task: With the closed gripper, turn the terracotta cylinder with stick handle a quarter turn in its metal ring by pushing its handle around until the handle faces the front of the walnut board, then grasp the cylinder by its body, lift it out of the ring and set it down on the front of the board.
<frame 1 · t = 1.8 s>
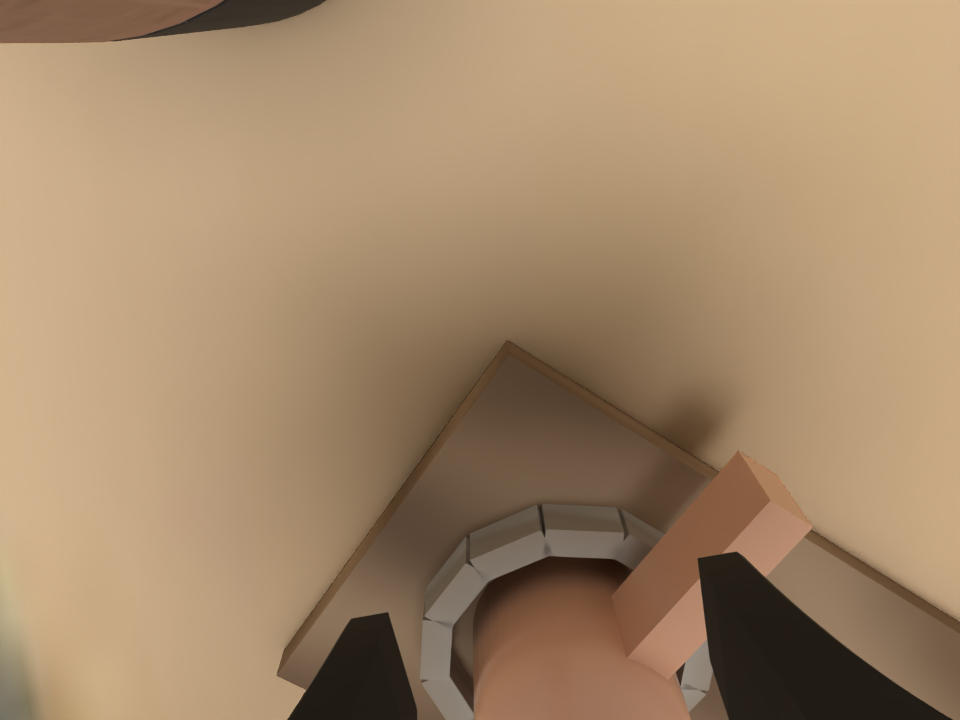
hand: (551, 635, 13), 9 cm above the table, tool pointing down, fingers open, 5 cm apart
cylinder with stick handle: (564, 626, 23), point 1 cm above the table, touching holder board
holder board: (691, 675, 25), on the table
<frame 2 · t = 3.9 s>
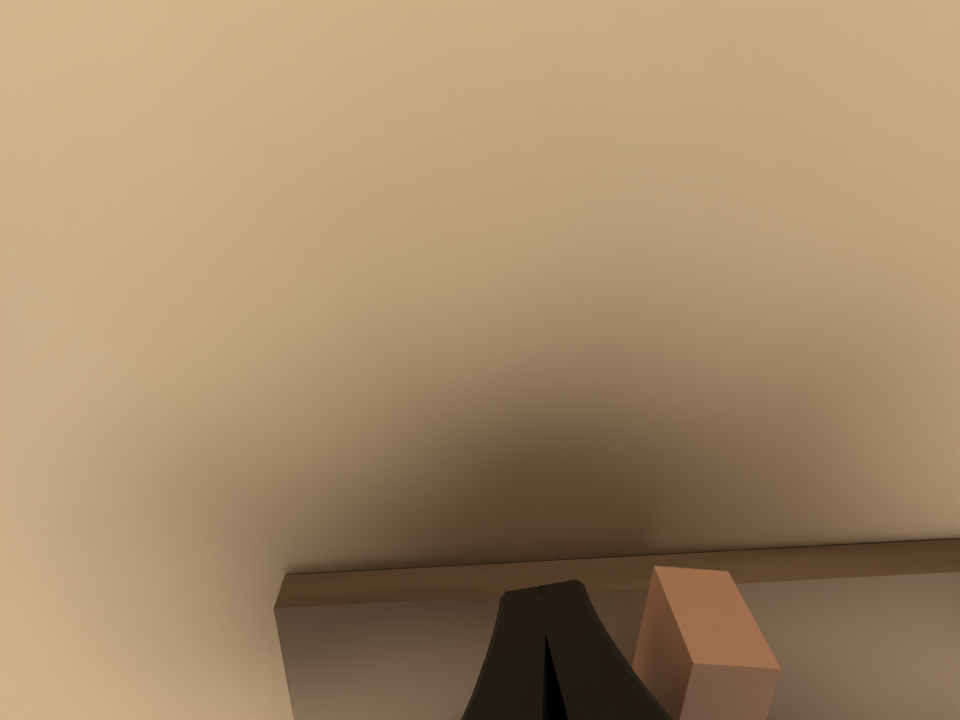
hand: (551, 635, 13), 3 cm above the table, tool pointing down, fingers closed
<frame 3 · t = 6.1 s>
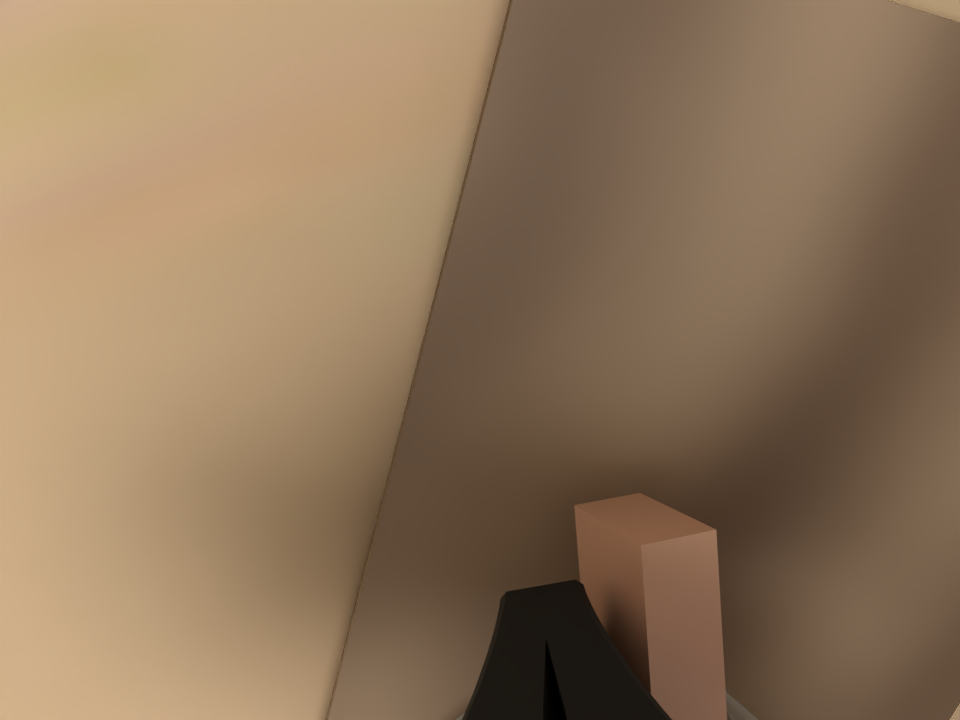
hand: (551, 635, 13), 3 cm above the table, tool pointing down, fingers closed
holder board: (667, 596, 16), on the table
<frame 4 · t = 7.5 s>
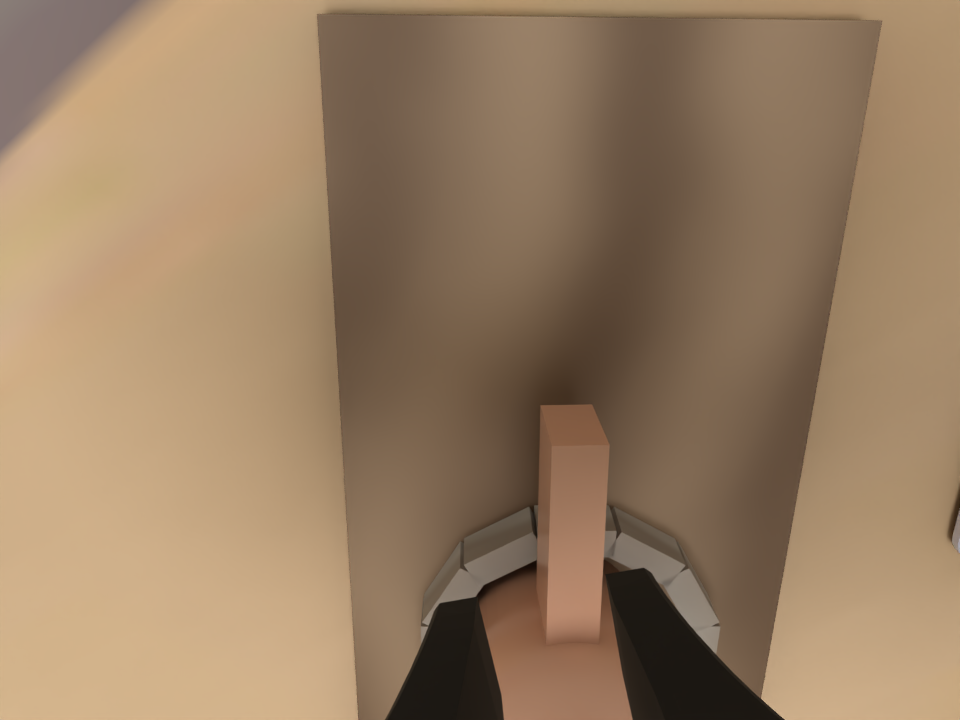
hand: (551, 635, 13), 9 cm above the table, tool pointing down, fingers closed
cylinder with stick handle: (549, 626, 23), point 1 cm above the table, touching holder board
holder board: (569, 454, 22), on the table
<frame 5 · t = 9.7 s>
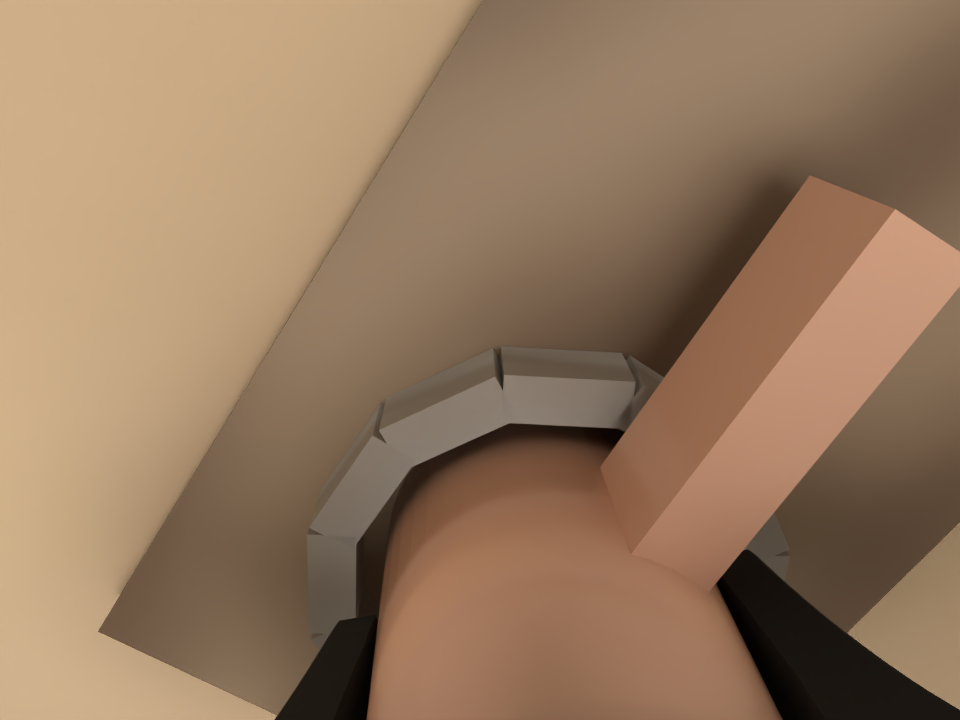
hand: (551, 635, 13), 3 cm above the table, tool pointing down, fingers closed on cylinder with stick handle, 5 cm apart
cylinder with stick handle: (533, 539, 15), point 1 cm above the table, touching gripper, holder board
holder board: (699, 319, 14), on the table
when the fingers open (4 cm above the table, at t = 14.1 s): cylinder with stick handle stays where it is, resting on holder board.
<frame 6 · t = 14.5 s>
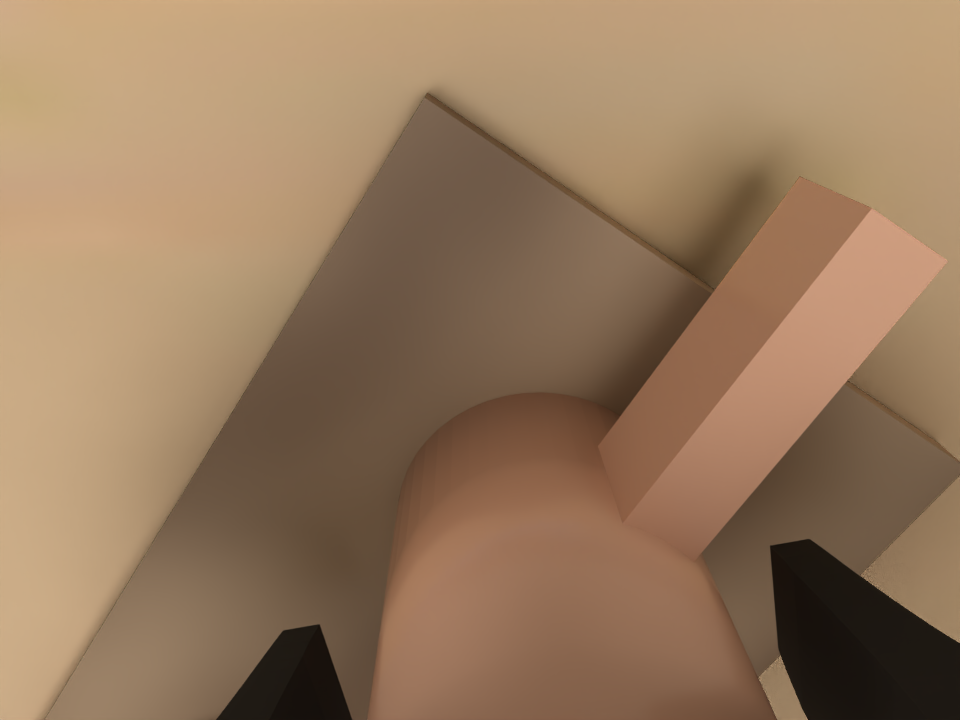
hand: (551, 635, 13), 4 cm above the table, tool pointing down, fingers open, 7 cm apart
cylinder with stick handle: (534, 516, 16), point 1 cm above the table, touching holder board
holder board: (391, 678, 18), on the table
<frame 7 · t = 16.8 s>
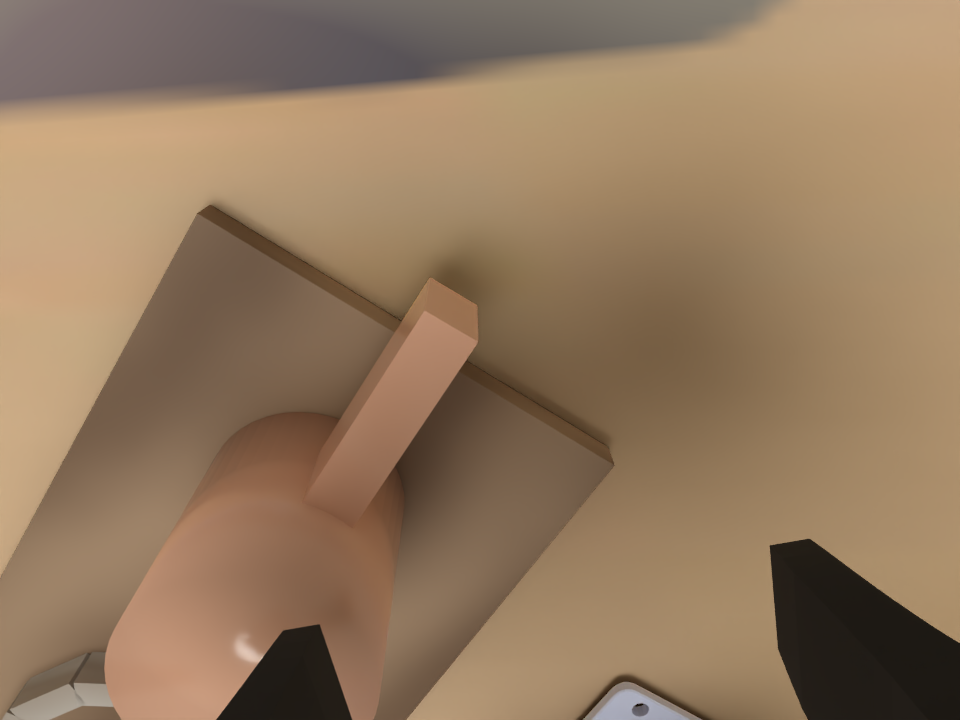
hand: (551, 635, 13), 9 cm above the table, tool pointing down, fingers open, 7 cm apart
cylinder with stick handle: (306, 500, 22), point 1 cm above the table, touching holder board
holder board: (224, 624, 24), on the table
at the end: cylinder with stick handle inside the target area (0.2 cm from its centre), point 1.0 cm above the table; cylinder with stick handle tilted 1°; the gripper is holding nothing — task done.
